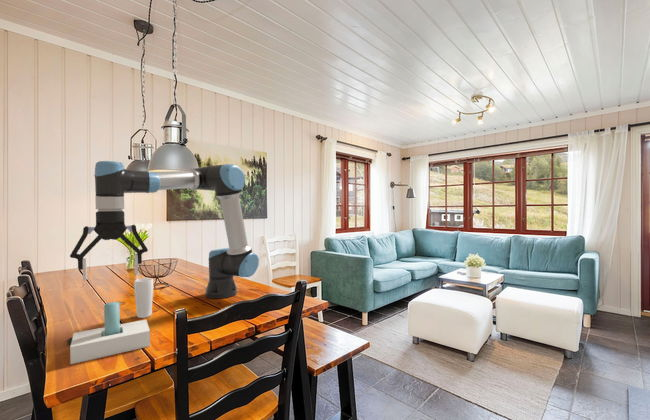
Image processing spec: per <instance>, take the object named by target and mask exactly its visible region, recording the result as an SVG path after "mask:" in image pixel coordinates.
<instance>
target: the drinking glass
mask: <svg viewBox="0 0 650 420" xmlns="http://www.w3.org/2000/svg"><path fill="white" fill-rule="evenodd" d="M133 282H134V284H133V289H134V291H133V292H134V298H135V299H134V301H135V309H136V317H137V318H138V319H145V318H149V317H151V316H152V315H153V314H152V313H153V309H152V308H153V299H154V279H153V278H152V277H142V278H137V279H135V280H134V281H133Z"/></svg>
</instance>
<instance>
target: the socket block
mask: <svg viewBox="0 0 650 420" xmlns="http://www.w3.org/2000/svg"><path fill="white" fill-rule="evenodd" d="M150 330H151V329H150V327H149V323H148V320H147V319H142V320H137V321H131V322H126V323H120V333H119V334H114V335H109V336H105V326H103V327H98V328H94V329H93V328H92V329H88V330H81V331H78V332H77V331H75V332H74V333H73V336H72V337H73V339H72V342H71V346H69V347H70V348H69V349H70V353H69V356H70V358H69V359H70V365H73V364H78V363H81V362H87V361H91V360H96V359H101V358H105V357H108V356H113V355H117V354H121V353H122V354H123V353H126V352H130V351H135V350H139V349H143V348H148V347H151V331H150Z"/></svg>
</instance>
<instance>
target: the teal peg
mask: <svg viewBox="0 0 650 420" xmlns="http://www.w3.org/2000/svg"><path fill="white" fill-rule="evenodd" d="M103 309H104V311H103V312H104V318H103V319H104V321H103V322H104V327H105V336H109V335H114V334H119V333H120V324H121V323H120V322H121V321H120V318H121V317H120V316H121V315H120V314H121V313H120V302H119V301H114V302H113V301H112V302H111V301H110V302H107V303H105V304H104V305H103Z"/></svg>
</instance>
